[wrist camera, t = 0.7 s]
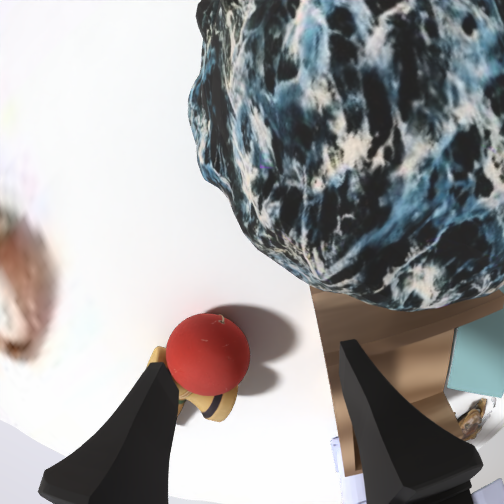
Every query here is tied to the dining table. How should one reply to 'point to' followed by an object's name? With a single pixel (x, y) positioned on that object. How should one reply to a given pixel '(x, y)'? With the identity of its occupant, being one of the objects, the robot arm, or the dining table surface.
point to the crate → (395, 354)
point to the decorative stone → (360, 141)
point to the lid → (480, 356)
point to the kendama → (206, 363)
